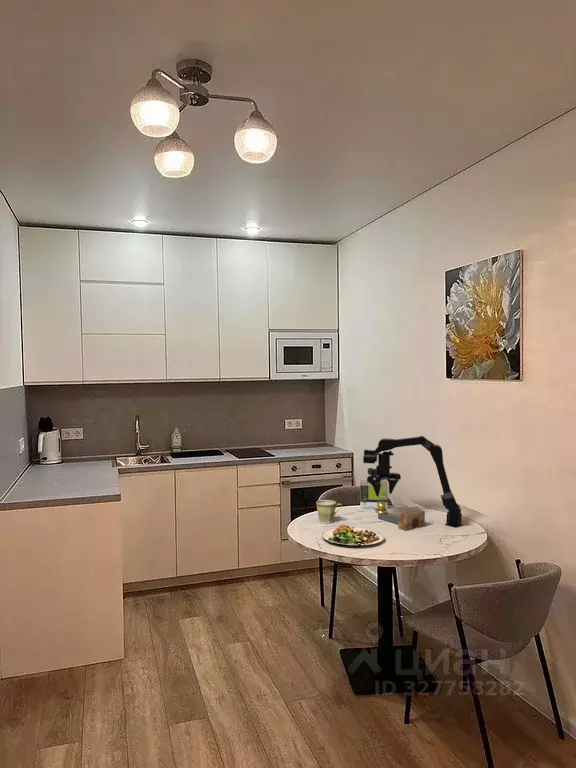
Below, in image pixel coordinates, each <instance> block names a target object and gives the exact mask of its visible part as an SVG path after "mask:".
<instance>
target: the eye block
mask: <svg viewBox="0 0 576 768" xmlns="http://www.w3.org/2000/svg"><path fill="white" fill-rule="evenodd" d="M398 516H399V523H398V524H397V525H398V529H399V530H402V531H412V530H413V527H414V528H419V529H420V528H425V527H424V526H426V524H425V523H426V522H425V521H426V518H425V517H426V511H425V510H421V509H418V508H416V509H411V510H406V511H400V512H398Z"/></svg>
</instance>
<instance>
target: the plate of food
mask: <svg viewBox="0 0 576 768" xmlns="http://www.w3.org/2000/svg"><path fill="white" fill-rule="evenodd" d="M332 535H333V537H332V538H331V536H332ZM321 537H322V538H323V539H324V540H326V541H328V542H330V543H335V544H338V545H339V544H340V545H346V546H358V545H359V544H358V543H361V544H363V545H362V546H367V545H374V544H375V545H376V544H378V543H380V542H383V541H384V540H385V536H384V535H383V533H381V532H378V531H376V530H373V529H370V528H369V529H368V528H363V527H358V526H357V527H355V526H349V525H346V524H341V525H339V526H337V527H333V528H328V529H325V530H324V531H322V533H321ZM365 543H367V544H365ZM361 544H360V545H361Z"/></svg>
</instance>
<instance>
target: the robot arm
mask: <svg viewBox="0 0 576 768" xmlns="http://www.w3.org/2000/svg"><path fill="white" fill-rule="evenodd" d="M409 446H410V447H411V446H412V447H413V446H421V447H423V448H424V449H425V450H427V451H428V452H429V453H430V456H431V458H432V460H433V462H434V463H435V467H436V470H437V474H438V477H439V482H440V485H441V489H442V492H443V493H442V494H441V495H440V499H441V502H442V506H443V507H444V508H445V509H446V510H447V512H446V523H445V526H449V527H453V528H459V527H462V525H463V526H464V525H465V524H464V523H463V522H462V521H463V520H462V519H463V516H462V515H463V513H462V508H461V506H460V505H459V504H458V503H457V500H456V498H455V495H454V494H453V492H452V490H451V488H450V487H451V486H450V484H449V480H448V476H447V472H446V468H445V465H444V454H443V449H442V447H441V445H440V444H435V443H433V441H431V440H429V439H427V437H426V436H424V435H420V436H414V437H405V438H388V437H387V438H386V437H385V438H382V439H380V440H379V441H378V445H377V447H376V448H375V449H373V450H371V449H364V450H363V456H362V457H363V458H362V461H363V464H376V463H378V465H376V468H373V467H369V468H367V474H368V476H367V477H366V479H367V482H369V483H370V484H372V486H373V488H374V490H375V493H376V496H379V492H380V487H381V483H380V482H381V480H386V479H387V483H388V492H389V493H388V494H389V495H392V494H393V492H394V490H395V487H396V486H397V483H398V482H400V480H401V479H402V476H401V474H400V473H397V472H391V469H392V467H393V466H391V456H394V455H395V454H394V452H393V451H392V450H394V449H396V448H402V447H409ZM458 526H459V527H458Z"/></svg>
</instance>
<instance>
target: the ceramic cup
mask: <svg viewBox="0 0 576 768" xmlns="http://www.w3.org/2000/svg"><path fill="white" fill-rule="evenodd" d="M315 505H316V509H317V515H318V520H319V523H320V524H322V523H324V524H323V525H326V524H327V525H330V523H331V524H333V523H334V519H335V515H336V514H337V513H338V512H339V511H340V510H341V509H342V508H343V504H342V503H339V502H338V503H337V501H335V500H331V499H320V500H317V501H316V502H315ZM339 505H340V508H339V509H338V510H336V509H337V507H338V506H339Z"/></svg>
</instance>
